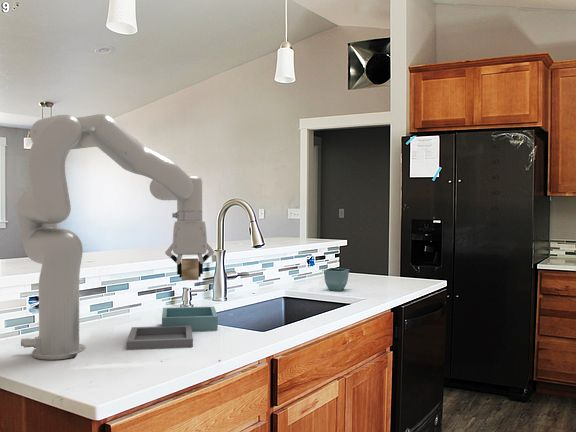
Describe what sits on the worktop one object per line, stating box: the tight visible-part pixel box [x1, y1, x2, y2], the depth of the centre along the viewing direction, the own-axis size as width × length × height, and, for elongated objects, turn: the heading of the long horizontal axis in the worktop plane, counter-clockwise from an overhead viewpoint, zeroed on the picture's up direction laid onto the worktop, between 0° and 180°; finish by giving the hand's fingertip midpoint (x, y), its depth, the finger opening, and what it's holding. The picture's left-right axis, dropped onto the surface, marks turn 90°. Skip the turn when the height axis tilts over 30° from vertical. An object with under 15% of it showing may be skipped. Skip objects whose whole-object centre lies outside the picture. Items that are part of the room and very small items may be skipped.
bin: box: [126, 325, 194, 351], centre depth 158 cm, size 17×17×3 cm
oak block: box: [181, 257, 200, 281], centre depth 177 cm, size 5×5×6 cm
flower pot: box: [323, 267, 350, 292], centre depth 254 cm, size 9×9×9 cm
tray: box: [161, 306, 219, 332], centre depth 177 cm, size 16×16×5 cm
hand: (189, 276), depth 177 cm, fingers closed on oak block, 4 cm apart
